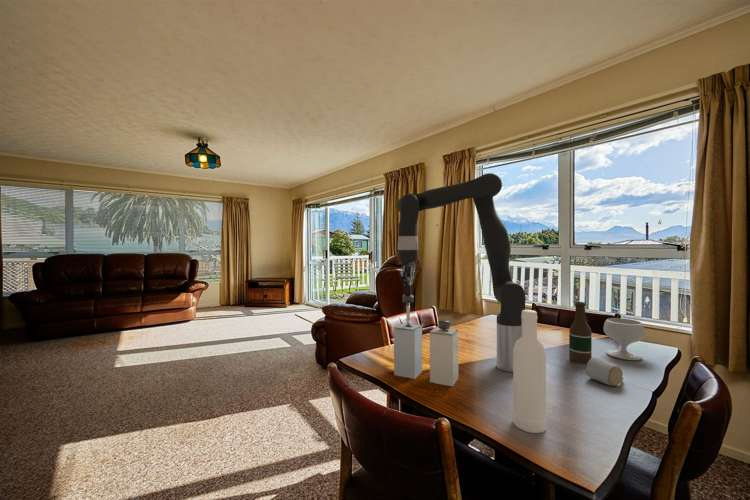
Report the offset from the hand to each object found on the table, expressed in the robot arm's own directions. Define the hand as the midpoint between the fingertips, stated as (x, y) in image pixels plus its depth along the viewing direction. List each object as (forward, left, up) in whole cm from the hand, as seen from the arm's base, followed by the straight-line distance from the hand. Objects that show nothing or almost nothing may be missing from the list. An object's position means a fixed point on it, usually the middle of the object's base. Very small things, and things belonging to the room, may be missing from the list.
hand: (408, 295), depth 118 cm
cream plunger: (-14, 0, -23) cm, 27 cm away
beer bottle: (-58, -43, -29) cm, 78 cm away
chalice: (-75, -58, -29) cm, 99 cm away
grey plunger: (0, 0, -15) cm, 15 cm away
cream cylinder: (-64, -24, -29) cm, 74 cm away
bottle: (-41, +18, -29) cm, 53 cm away
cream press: (-14, 0, -29) cm, 32 cm away
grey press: (0, 0, -29) cm, 29 cm away
